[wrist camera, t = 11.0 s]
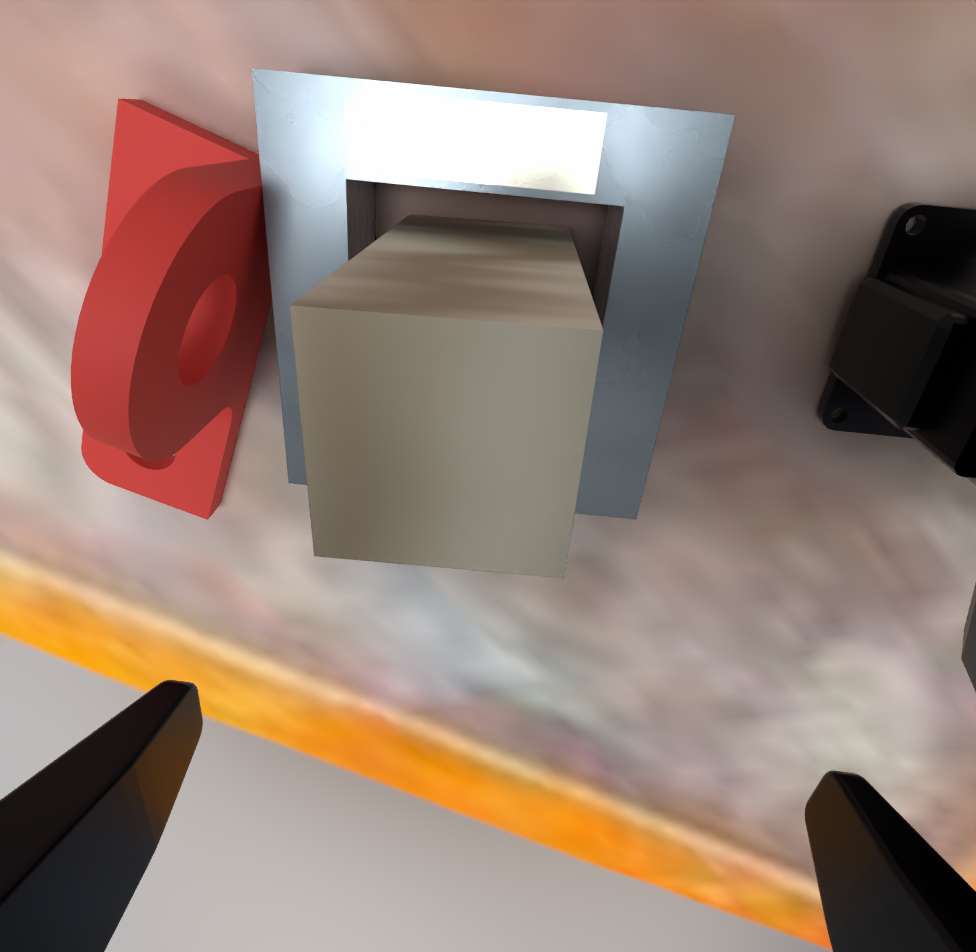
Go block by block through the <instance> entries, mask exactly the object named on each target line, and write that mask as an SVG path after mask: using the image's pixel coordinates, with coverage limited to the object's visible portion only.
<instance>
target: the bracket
mask: <svg viewBox="0 0 976 952" xmlns="http://www.w3.org/2000/svg"><path fill="white" fill-rule="evenodd" d="M271 301H272V291H271V280H270V269H269V257H268V246H267V235H266V224H265V213H264V202H263V191H262V180H261V168H260V157H259V155H258V154H256V153H254V152H252V151H250V150H247V149H245V148H243V147H241V146H239V145H237V144H234V143H232V142H230V141H228V140H226V139H224V138H222V137H219V136H217V135H215V134H213V133H211V132H209V131H207V130H204V129H202V128H200V127H198V126H196V125H194V124H191V123H189V122H187V121H185V120H183V119H181V118H179V117H176V116H174V115H172V114H170V113H168V112H166V111H164V110H161V109H159V108H157V107H155V106H153V105H151V104H148V103H146V102H144V101H142V100H135V99H118V106H117V116H116V125H115V134H114V144H113V153H112V163H111V172H110V182H109V191H108V201H107V210H106V219H105V229H104V238H103V248H102V256H101V258H100V260H99V263H98V265H97V267H96V270H95V272H94V274H93V276H92V279H91V282H90V285H89V287H88V290H87V293H86V296H85V299H84V302H83V305H82V309H81V312H80V316H79V320H78V324H77V329H76V333H75V339H74V345H73V352H72V363H71V390H72V399H73V404H74V409H75V412H76V415H77V418H78V421H79V422H80V424H81V426H82V428H83V436H82V447H81V449H82V455H83V458H84V460H85V462H86V464H87V465H88V467H89V468H90V469H91V470H92V472H93V473H94V474H96V475H97V476H98V477H99V478H101V479H102V480H104V481H106V482H108V483H110V484H113V485H115V486H118V487H121V488H123V489H126V490H129V491H132V492H134V493H137V494H140V495H142V496H145V497H148V498H150V499H153V500H156V501H159V502H161V503H164V504H167V505H169V506H172V507H175V508H178V509H180V510H183V511H186V512H188V513H191V514H194V515H196V516H199V517H202V518H205V519H207V520H208V519H209V517H210V516H211V515H212V514H213V513H214V511H215V510H216V509H217V508H218V506H219V505H220V503H221V499H222V495H223V491H224V487H225V483H226V479H227V475H228V471H229V467H230V463H231V459H232V455H233V452H234V448H235V444H236V440H237V436H238V432H239V428H240V424H241V420H242V416H243V412H244V408H245V404H246V400H247V396H248V392H249V388H250V384H251V380H252V376H253V372H254V368H255V364H256V360H257V356H258V352H259V348H260V344H261V340H262V337H263V333H264V329H265V325H266V321H267V317H268V313H269V309H270V305H271ZM175 453H176V456H172V455H173V454H175Z"/></svg>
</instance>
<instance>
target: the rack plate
mask: <svg viewBox="0 0 976 952" xmlns="http://www.w3.org/2000/svg"><path fill="white" fill-rule="evenodd" d="M252 79H253V90H254V102H255V113H256V124H257V135H258V146H259V157H260V168H261V180H262V191H263V202H264V213H265V224H266V235H267V246H268V257H269V269H270V280H271V291H272V302H273V313H274V324H275V335H276V347H277V358H278V369H279V380H280V391H281V402H282V413H283V425H284V436H285V447H286V458H287V469H288V480H289V483H292V484H302V485H307V476H306V466H305V455H304V445H303V435H302V424H301V414H300V404H299V393H298V383H297V373H296V362H295V352H294V342H293V331H292V321H291V311H290V305H291V304H293V303H294V302H295V301H297V300H298V299H299V298H301V297H302V296H303V295H305V294H306V293H307V292H308V291H310V290H311V289H312V288H314V287H315V286H316V285H318V284H319V283H320V282H322V281H323V280H324V279H326V278H327V277H328V276H330V275H331V274H332V273H334V272H335V271H336V270H337V269H339V268H340V267H341V266H343V265H344V264H345V263H347V262H348V261H349V260H351V259H352V258H353V257H355V256H356V255H357V254H359V253H360V252H361V251H363V250H364V249H365V248H366V247H368V246H369V245H370V244H372V243H373V242H374V241H375V195H374V182H382V183H392V184H402V185H412V186H423V187H433V188H443V189H453V190H463V191H473V192H484V193H494V194H504V195H514V196H524V197H535V198H545V199H555V200H565V201H575V202H585V203H596V204H606V205H608V211H607V217H606V223H605V229H604V235H603V241H602V247H601V253H600V259H599V265H598V271H597V277H596V283H595V289H594V295H593V301H594V304H595V307H596V310H597V313H598V316H599V319H600V322H601V325H602V328H603V335H602V341H601V348H600V354H599V360H598V367H597V373H596V379H595V386H594V392H593V399H592V405H591V411H590V418H589V424H588V430H587V437H586V443H585V449H584V456H583V462H582V468H581V475H580V481H579V488H578V494H577V500H576V507H575V513H580V514H589V515H599V516H608V517H618V518H628V519H637V515H638V511H639V506H640V502H641V498H642V494H643V490H644V486H645V482H646V478H647V474H648V470H649V466H650V462H651V458H652V453H653V449H654V445H655V441H656V437H657V433H658V429H659V425H660V421H661V417H662V413H663V409H664V404H665V400H666V396H667V392H668V388H669V384H670V380H671V376H672V372H673V368H674V364H675V360H676V355H677V351H678V347H679V343H680V339H681V335H682V331H683V327H684V323H685V319H686V315H687V311H688V306H689V302H690V298H691V294H692V290H693V286H694V282H695V278H696V274H697V270H698V266H699V262H700V257H701V253H702V249H703V245H704V241H705V237H706V233H707V229H708V225H709V221H710V217H711V213H712V208H713V204H714V200H715V196H716V192H717V188H718V184H719V180H720V176H721V172H722V168H723V164H724V160H725V155H726V151H727V147H728V143H729V139H730V135H731V131H732V127H733V123H734V119H735V115H731V114H720V113H710V112H699V111H689V110H679V109H668V108H658V107H647V106H637V105H627V104H616V103H606V102H595V101H585V100H575V99H564V98H554V97H543V96H533V95H523V94H512V93H502V92H491V91H481V90H471V89H460V88H450V87H439V86H429V85H419V84H408V83H398V82H387V81H377V80H367V79H356V78H346V77H335V76H325V75H315V74H304V73H294V72H283V71H273V70H263V69H252Z"/></svg>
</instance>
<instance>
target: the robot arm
mask: <svg viewBox="0 0 976 952" xmlns="http://www.w3.org/2000/svg"><path fill="white" fill-rule="evenodd" d="M915 215H917V217H918V224H917V226H916V227H915V229H914V230H912V231H911V232H909V233H907V232H906V230H905V228H906V224H907V222H908V221H909V219H910V218H912V217H913V216H915ZM829 367H830V369H831V370H832V373H831V376H830V378H829V381H828V384H827V386H826V389H825V392H824V394H823V397H822V400H821V402H820V405H819V407H818V412H817V416H818V419H819V420H820V421H821V422H822V423H823V424H824V425H825V426H826V427H827V428H828V429H831V430H837V431H846V432H856V433H866V434H876V435H885V436H895V437H905V438H914V439H915V440H916V441H917V442H918V443H920V444H921V445H922V446H923V447H924V448H926V449H927V450H928V451H929V452H930V453H932V454H933V455H934V456H935V457H936V458H938V459H939V460H940V461H941V462H942V463H944V464H945V465H946V466H947V467H948V468H950V469H951V470H952V471H953V472H954V473H956V474H957V475H959V476H962V477H967V478H968V479H969V480H970V481H971V482H973V483H974V484H975V485H976V209H973V208H963V207H953V206H942V205H932V204H922V203H911V204H907V205H905V206H902V207H900V208H899V209H898V210H897V211H896V212H895V213H894V214H893V216H892V218H891V219H890V221H889V223H888V226H887V229H886V231H885V234H884V237H883V239H882V242H881V245H880V247H879V250H878V252H877V255H876V258H875V260H874V263H873V266H872V268H871V271H870V273H869V276H868V278H867V279H866V280H865V281H864V282H863V283H861V284H860V285H859V287H858V290H857V292H856V295H855V298H854V300H853V303H852V306H851V308H850V311H849V314H848V316H847V319H846V322H845V324H844V327H843V330H842V332H841V335H840V338H839V340H838V343H837V345H836V348H835V351H834V353H833V356H832V359H831V361H830V364H829ZM838 408H843V409H842V412H841V414H840V415H839V416H837V417H834V418H831V414H832V413H833V411H834V410H836V409H838ZM961 659H962V661H963V663H964V666H965V668H966V670H967V673H968V675H969V677H970V680H971V682H972V684H973V687H974V689H975V691H976V584H975V588H974V592H973V596H972V600H971V604H970V608H969V612H968V616H967V620H966V624H965V628H964V636H963V647H962V657H961ZM202 725H203V719H202V713H201V707H200V701H199V695H198V690H197V687H196V686H195V685H194V683H190V682H183V681H176V680H166V681H164V682H161V683H160V684H158V685H157V686H155V687H154V688H153V689H151V690H150V691H149V692H147V693H146V694H145V695H143V696H142V697H141V698H139V699H138V700H136V701H135V702H134V703H132V704H131V705H130V706H128V707H127V708H126V709H124V710H123V711H121V712H120V713H119V714H117V715H116V716H115V717H114V718H112V719H110V720H109V721H108V722H106V723H105V724H104V725H102V726H101V727H100V728H98V729H97V730H95V731H94V732H93V733H91V734H90V735H89V736H87V737H86V738H85V739H83V740H82V741H80V742H79V743H78V744H76V745H75V746H74V747H72V748H71V749H69V750H68V751H67V752H65V753H64V754H63V755H61V756H60V757H58V758H57V759H56V760H54V761H53V762H52V763H50V764H49V765H48V766H46V767H45V768H44V769H43V770H41V771H39V772H38V773H37V774H36V775H34V776H33V777H31V778H30V779H29V780H27V781H26V782H24V783H23V784H22V785H20V786H19V787H18V788H16V789H15V790H13V791H12V792H11V793H9V794H8V795H7V796H5V797H4V798H3V799H1V800H0V952H104V951H105V949H106V947H107V945H108V943H109V941H110V939H111V937H112V935H113V933H114V931H115V930H116V928H117V926H118V924H119V922H120V920H121V918H122V916H123V914H124V912H125V910H126V908H127V906H128V904H129V902H130V900H131V898H132V896H133V894H134V892H135V890H136V888H137V886H138V884H139V882H140V880H141V878H142V876H143V874H144V872H145V870H146V868H147V866H148V864H149V862H150V860H151V858H152V856H153V854H154V852H155V850H156V848H157V845H158V843H159V840H160V838H161V835H162V833H163V831H164V828H165V826H166V823H167V821H168V818H169V816H170V813H171V810H172V808H173V805H174V803H175V800H176V798H177V795H178V792H179V790H180V787H181V785H182V782H183V780H184V777H185V775H186V772H187V769H188V767H189V764H190V762H191V759H192V756H193V754H194V751H195V749H196V746H197V744H198V741H199V738H200V735H201V732H202ZM805 822H806V827H807V832H808V837H809V842H810V847H811V852H812V857H813V862H814V867H815V872H816V877H817V882H818V887H819V892H820V896H821V901H822V906H823V911H824V916H825V921H826V925H827V930H828V934H829V938H830V942H831V946H832V949H833V952H976V891H975V890H974V889H973V888H972V887H971V886H970V885H969V884H968V883H967V882H966V881H965V880H964V879H963V878H962V877H961V876H960V875H959V874H958V873H957V872H956V871H955V870H954V869H953V868H952V867H951V866H950V865H949V864H948V863H947V862H946V861H945V860H944V859H943V858H942V857H941V856H940V855H939V854H938V853H937V852H936V851H935V850H934V849H933V848H932V847H931V846H930V845H929V844H928V843H927V842H926V841H925V840H924V838H923V837H922V836H921V835H920V834H919V833H918V832H917V831H916V830H915V829H914V828H913V827H912V826H911V825H910V824H909V823H908V822H907V821H906V820H905V819H904V818H903V817H902V816H901V815H900V814H899V813H898V812H897V811H896V810H895V809H894V808H893V807H892V806H891V805H890V804H889V803H888V802H887V801H886V800H885V799H884V798H883V797H882V796H881V795H880V794H879V793H878V792H877V791H876V790H875V789H874V788H873V787H872V786H871V785H870V784H869V783H868V782H867V781H866V780H865V779H864V778H863V777H861V776H860V775H858V774H854V773H848V772H841V771H829V772H827V773H826V774H825V775H824V776H823V778H822V779H821V781H820V782H819V784H818V786H817V787H816V789H815V790H814V792H813V793H812V795H811V797H810V798H809V800H808V802H807V804H806V808H805Z"/></svg>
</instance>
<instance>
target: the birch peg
mask: <svg viewBox="0 0 976 952" xmlns="http://www.w3.org/2000/svg"><path fill="white" fill-rule="evenodd" d="M290 311H291V321H292V331H293V342H294V352H295V362H296V373H297V383H298V393H299V404H300V414H301V424H302V435H303V445H304V455H305V466H306V476H307V486H308V496H309V507H310V517H311V527H312V538H313V548H314V556H319V557H330V558H341V559H353V560H364V561H375V562H386V563H398V564H409V565H420V566H431V567H443V568H454V569H465V570H477V571H488V572H499V573H510V574H522V575H533V576H544V577H555V578H564V577H565V570H566V564H567V557H568V551H569V545H570V538H571V532H572V526H573V519H574V513H575V507H576V500H577V494H578V488H579V481H580V475H581V468H582V462H583V456H584V449H585V443H586V437H587V430H588V424H589V418H590V411H591V405H592V399H593V392H594V386H595V379H596V373H597V367H598V360H599V354H600V348H601V341H602V335H603V328H602V325H601V322H600V319H599V316H598V313H597V310H596V307H595V304H594V301H593V299H592V296H591V293H590V290H589V287H588V284H587V281H586V278H585V275H584V272H583V269H582V266H581V263H580V260H579V257H578V254H577V251H576V248H575V245H574V242H573V239H572V236H571V233H570V230H569V227H565V226H552V225H539V224H525V223H512V222H499V221H486V220H472V219H459V218H446V217H433V216H419V215H409V216H407V217H406V218H405V219H403V220H402V221H401V222H399V223H398V224H397V225H395V226H394V227H393V228H391V229H390V230H389V231H388V232H386V233H385V234H384V235H382V236H381V237H380V238H378V239H377V240H376V241H374V242H373V243H372V244H370V245H369V246H368V247H366V248H365V249H364V250H363V251H361V252H360V253H359V254H357V255H356V256H355V257H353V258H352V259H351V260H349V261H348V262H347V263H345V264H344V265H343V266H341V267H340V268H339V269H337V270H336V271H335V272H334V273H332V274H331V275H330V276H328V277H327V278H326V279H324V280H323V281H322V282H320V283H319V284H318V285H316V286H315V287H314V288H312V289H311V290H310V291H308V292H307V293H306V294H305V295H303V296H302V297H301V298H299V299H298V300H297V301H295V302H294V303H293V304H291V305H290Z"/></svg>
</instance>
